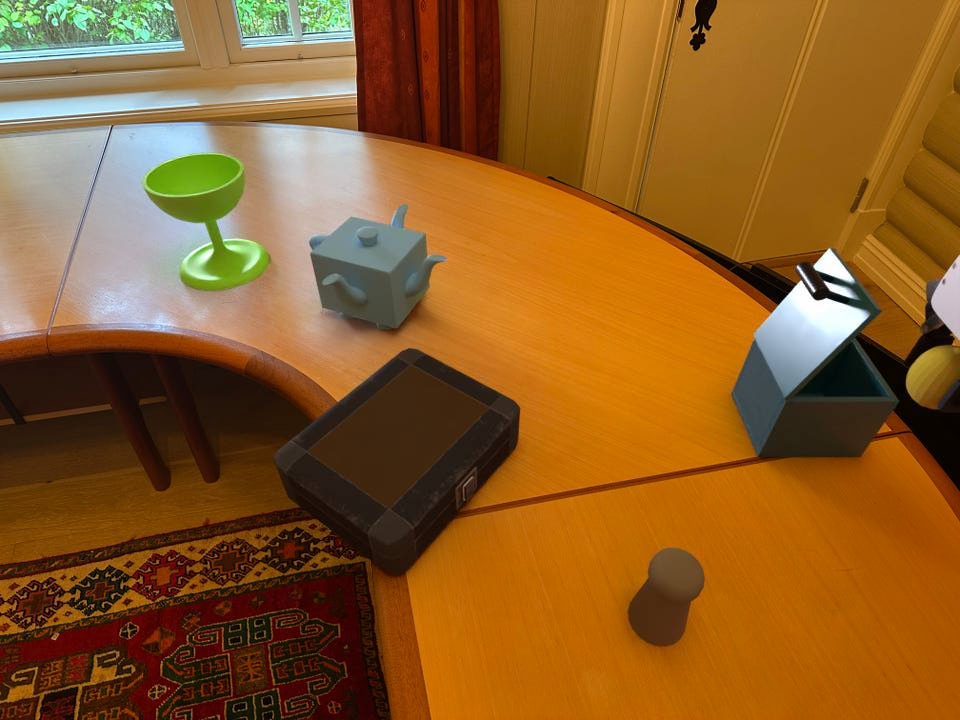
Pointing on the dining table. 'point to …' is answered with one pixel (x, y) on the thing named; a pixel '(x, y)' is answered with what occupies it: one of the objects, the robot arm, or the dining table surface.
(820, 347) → the box lid
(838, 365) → the teal box
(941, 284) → the robot arm
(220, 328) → the dining table surface
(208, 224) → the wineglass
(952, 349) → the lemon
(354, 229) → the teakettle
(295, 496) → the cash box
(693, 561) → the cork
